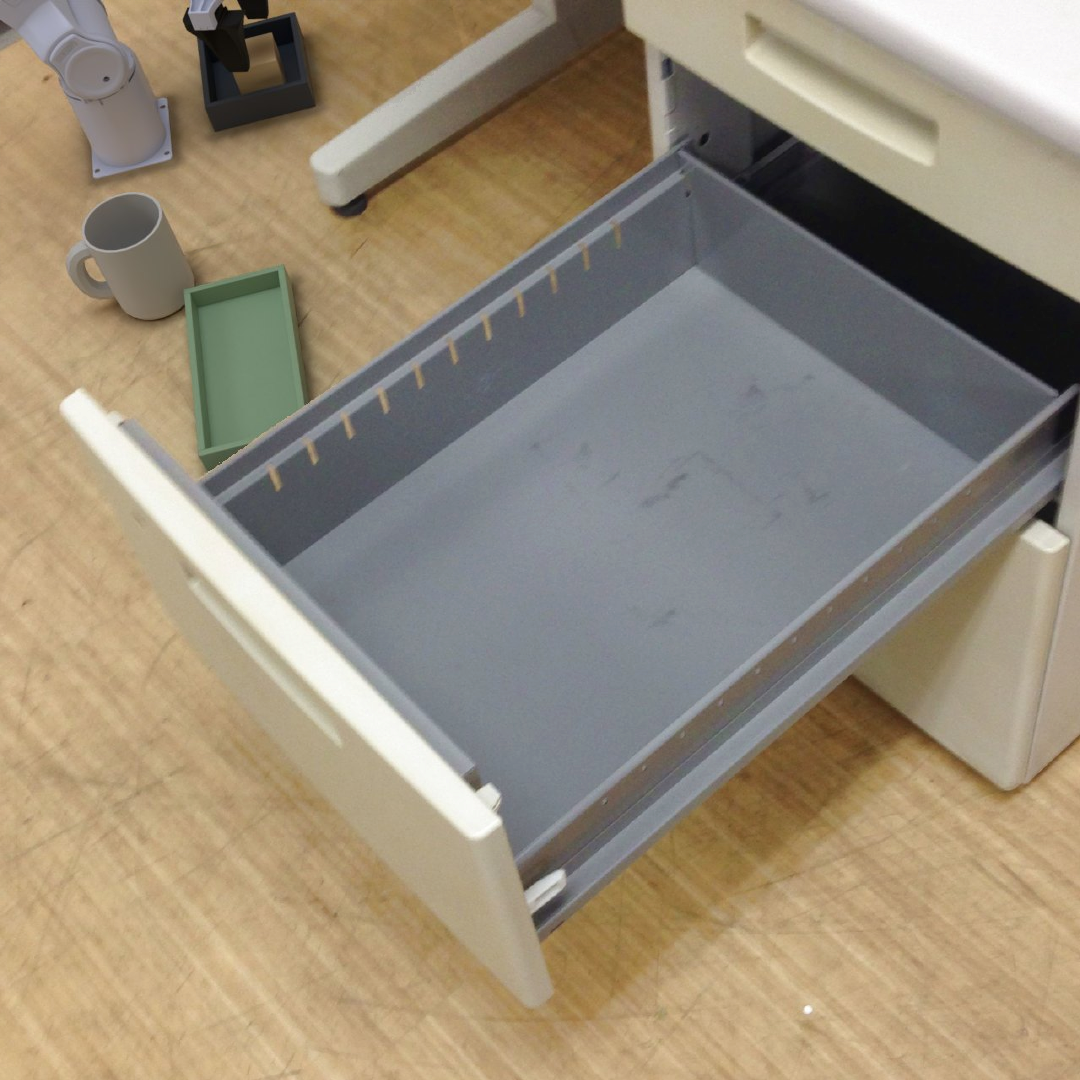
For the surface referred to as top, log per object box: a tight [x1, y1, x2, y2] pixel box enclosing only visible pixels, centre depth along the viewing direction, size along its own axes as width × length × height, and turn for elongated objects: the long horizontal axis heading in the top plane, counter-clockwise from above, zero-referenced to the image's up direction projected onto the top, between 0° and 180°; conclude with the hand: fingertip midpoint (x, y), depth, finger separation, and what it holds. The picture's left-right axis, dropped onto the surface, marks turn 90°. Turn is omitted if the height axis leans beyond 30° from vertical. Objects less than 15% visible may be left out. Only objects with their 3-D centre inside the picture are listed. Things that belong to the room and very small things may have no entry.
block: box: [233, 32, 287, 95], centre depth 149 cm, size 4×4×4 cm
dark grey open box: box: [196, 11, 316, 133], centre depth 151 cm, size 11×10×4 cm
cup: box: [65, 191, 195, 321], centre depth 134 cm, size 7×10×9 cm
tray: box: [184, 263, 310, 473], centre depth 130 cm, size 19×9×2 cm, turn 12°
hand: (249, 43), depth 147 cm, fingers open, 7 cm apart
